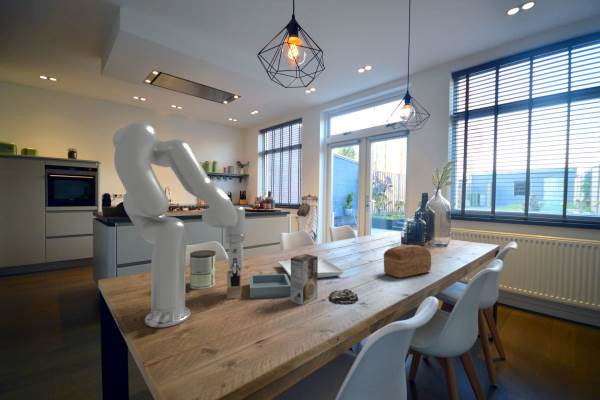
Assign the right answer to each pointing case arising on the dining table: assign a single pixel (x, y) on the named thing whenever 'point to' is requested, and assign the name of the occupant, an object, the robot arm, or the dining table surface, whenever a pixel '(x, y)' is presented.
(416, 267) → the bread
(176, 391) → the dining table surface
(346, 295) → the dark grey coiled lump
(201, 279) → the coffee can
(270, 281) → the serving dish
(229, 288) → the oak block
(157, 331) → the dining table surface
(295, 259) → the coffee box
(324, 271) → the square plate
